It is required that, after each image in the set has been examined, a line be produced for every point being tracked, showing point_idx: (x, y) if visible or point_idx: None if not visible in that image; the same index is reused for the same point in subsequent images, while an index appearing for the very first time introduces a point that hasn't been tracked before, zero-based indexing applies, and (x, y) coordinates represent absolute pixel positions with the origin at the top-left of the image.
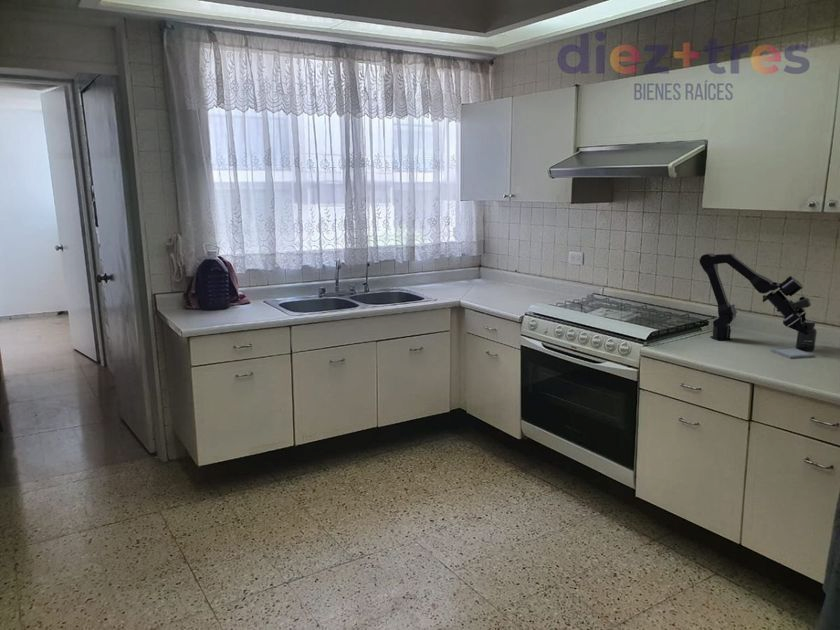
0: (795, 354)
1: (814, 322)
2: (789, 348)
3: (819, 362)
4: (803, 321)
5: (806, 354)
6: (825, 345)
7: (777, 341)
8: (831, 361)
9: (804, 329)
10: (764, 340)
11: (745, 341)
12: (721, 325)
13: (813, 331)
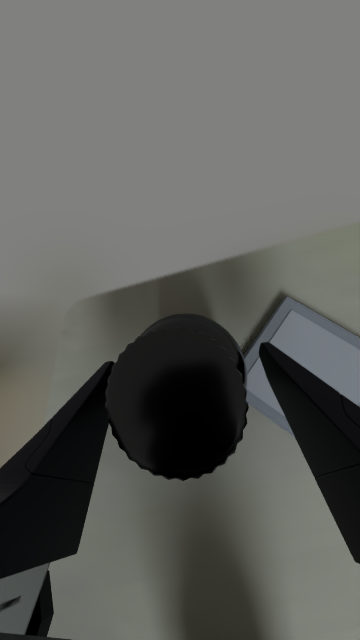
0: (345, 354)
1: (167, 332)
2: (248, 401)
3: (356, 263)
4: (204, 456)
5: (309, 321)
6: (86, 317)
7: (126, 470)
8: (305, 239)
9: (308, 378)
10: (141, 522)
11: (213, 599)
12: None
13: (216, 324)
